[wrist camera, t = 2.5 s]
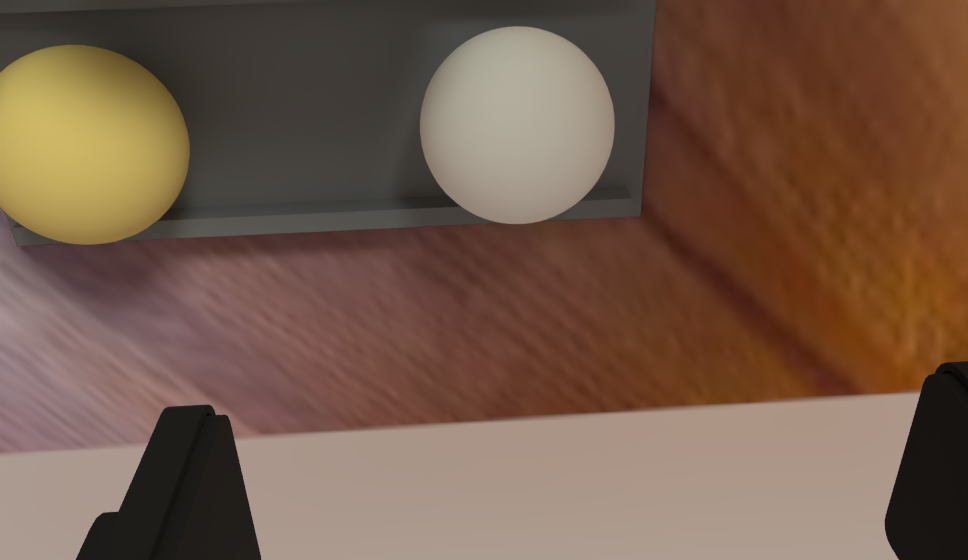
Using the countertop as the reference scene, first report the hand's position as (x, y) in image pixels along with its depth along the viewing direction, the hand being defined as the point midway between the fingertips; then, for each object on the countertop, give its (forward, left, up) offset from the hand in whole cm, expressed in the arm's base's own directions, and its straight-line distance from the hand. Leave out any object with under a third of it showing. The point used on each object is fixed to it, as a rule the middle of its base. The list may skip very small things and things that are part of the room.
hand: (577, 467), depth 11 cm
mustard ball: (+11, 0, -15) cm, 18 cm away
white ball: (0, 0, -15) cm, 15 cm away
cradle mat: (+5, 0, -15) cm, 16 cm away
